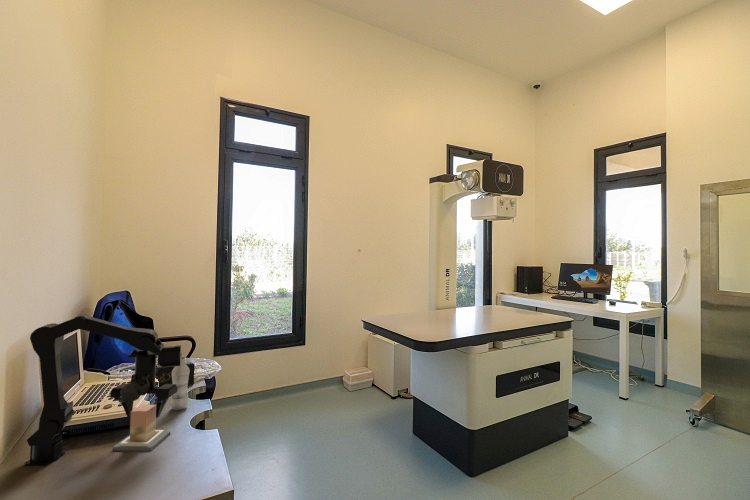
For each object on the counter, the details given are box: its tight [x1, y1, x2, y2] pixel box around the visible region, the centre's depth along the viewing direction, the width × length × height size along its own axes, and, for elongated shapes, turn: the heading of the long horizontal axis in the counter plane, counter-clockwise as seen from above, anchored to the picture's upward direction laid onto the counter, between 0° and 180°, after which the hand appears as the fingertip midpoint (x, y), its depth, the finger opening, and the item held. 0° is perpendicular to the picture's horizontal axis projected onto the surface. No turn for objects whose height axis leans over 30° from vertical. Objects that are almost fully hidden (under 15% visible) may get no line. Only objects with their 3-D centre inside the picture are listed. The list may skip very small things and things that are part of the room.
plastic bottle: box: [169, 356, 190, 411], centre depth 137 cm, size 6×7×20 cm
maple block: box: [129, 420, 157, 442], centre depth 112 cm, size 5×5×5 cm
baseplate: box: [112, 429, 171, 452], centre depth 111 cm, size 12×10×2 cm
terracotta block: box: [129, 404, 157, 427], centre depth 112 cm, size 5×5×5 cm
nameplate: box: [155, 362, 196, 387], centre depth 159 cm, size 21×2×10 cm, turn 121°
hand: (143, 417), depth 112 cm, fingers open, 9 cm apart
